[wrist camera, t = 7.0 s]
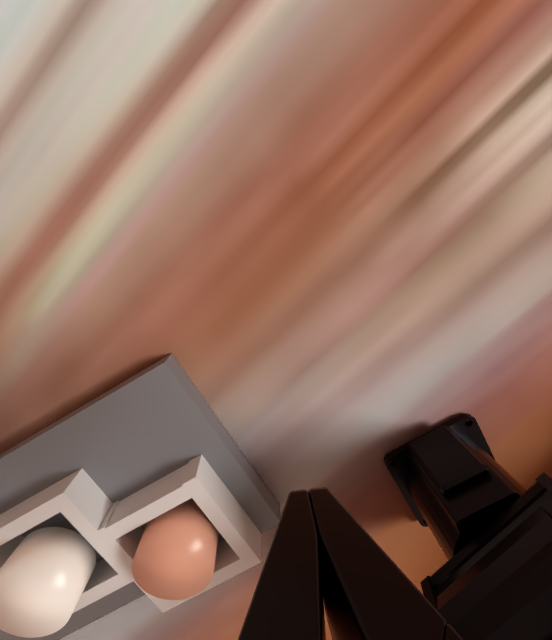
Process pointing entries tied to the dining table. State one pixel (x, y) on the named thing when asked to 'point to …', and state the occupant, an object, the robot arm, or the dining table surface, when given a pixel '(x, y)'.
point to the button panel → (133, 484)
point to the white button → (44, 581)
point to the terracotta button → (176, 553)
